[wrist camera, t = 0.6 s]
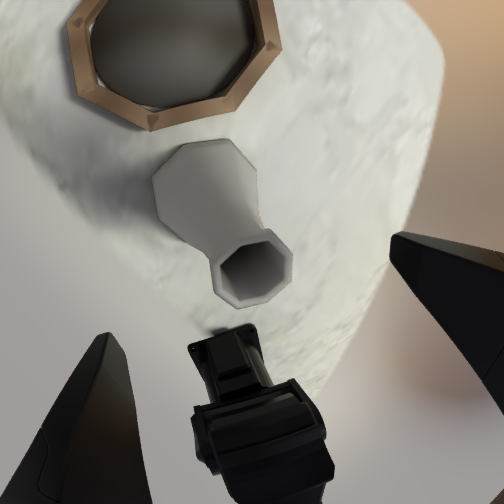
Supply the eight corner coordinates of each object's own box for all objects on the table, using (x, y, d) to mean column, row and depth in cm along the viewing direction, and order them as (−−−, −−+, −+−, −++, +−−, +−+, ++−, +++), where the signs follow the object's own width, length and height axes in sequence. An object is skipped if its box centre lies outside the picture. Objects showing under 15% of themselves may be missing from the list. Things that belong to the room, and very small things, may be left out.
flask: (182, 257, 20) (209, 366, 12) (132, 170, 16) (110, 242, 8) (271, 212, 21) (349, 293, 13) (236, 120, 17) (316, 141, 9)
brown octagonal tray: (280, 102, 17) (290, 102, 16) (97, 148, 15) (92, 152, 14) (252, -47, 11) (260, -56, 9) (69, -13, 8) (63, -20, 7)
